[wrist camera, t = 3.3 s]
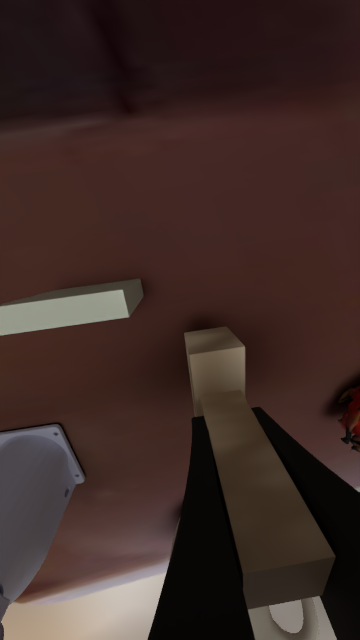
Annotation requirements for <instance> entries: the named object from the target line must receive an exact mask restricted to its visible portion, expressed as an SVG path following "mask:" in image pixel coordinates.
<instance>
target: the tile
mask: <svg viewBox="0 0 360 640" xmlns="http://www.w3.org/2000/svg"><path fill="white" fill-rule="evenodd" d="M143 296H144V295H143V290H142V285H141V280H140V279H134V280H126V281H119V282H112V283H105V284H97V285H90V286H83V287H75V288H68V289H61V290H55V291H51V292H47V293H43V294H39V295H35V296H32V297H28V298H24V299H20V300H16V301H12V302H8V303H4V304H0V335H6V334H13V333H20V332H28V331H35V330H42V329H49V328H56V327H63V326H70V325H77V324H84V323H91V322H98V321H105V320H112V319H119V318H126V317H130V315H131V314H132V312H133V311H134V309H135V308H136V306H137V305H138V304H139V302H140V301H141V299H142V298H143Z"/></svg>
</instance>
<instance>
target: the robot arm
mask: <svg viewBox="0 0 360 640" xmlns="http://www.w3.org/2000/svg"><path fill="white" fill-rule="evenodd" d="M251 409H252V411H253V413H254V415H255V416H256V418H257V420H258V422H259V424H260V425H261V427H262V429H263V430H264V432H265V434H266V436H267V437H268V439H269V441H270V443H271V444H272V446H273V448H274V450H275V451H276V453H277V455H278V457H279V458H280V460H281V462H282V464H283V465H284V467H285V469H286V471H287V472H288V474H289V476H290V478H291V479H292V481H293V483H294V485H295V486H296V488H297V490H298V492H299V493H300V495H301V497H302V499H303V500H304V502H305V504H306V505H307V507H308V509H309V511H310V512H311V514H312V516H313V518H314V519H315V521H316V523H317V525H318V526H319V528H320V530H321V532H322V533H323V535H324V537H325V539H326V540H327V542H328V544H329V546H330V547H331V549H332V551H333V553H334V554H335V556H336V557H335V560H334V563H333V566H332V569H331V572H330V574H329V577H328V580H327V583H326V586H325V589H324V591H323V594H322V595H321V596H320V598H321V600H322V603H323V605H324V608H325V610H326V613H327V615H328V618H329V620H330V623H331V625H332V628H333V630H334V633H335V636H336V638H337V640H360V492H358V491H357V490H356V489H354V488H353V487H352V486H350V485H349V484H348V483H347V482H345V481H344V480H343V479H341V478H340V477H339V476H337V475H336V474H335V473H334V472H332V471H331V470H330V469H329V468H327V467H326V466H325V465H324V464H323V463H321V462H320V461H319V460H318V459H316V458H315V457H314V456H313V455H312V454H311V453H309V452H308V451H307V450H306V449H305V448H304V447H302V446H301V445H300V444H299V443H298V442H297V441H296V440H295V439H293V438H292V437H291V436H290V435H289V434H288V433H287V432H286V431H285V430H283V429H282V428H281V427H280V426H279V425H278V424H277V423H276V422H275V421H274V420H273V419H272V418H271V417H270V416H269V415H268V414H267V413H266V412H265V411H264V410H263V409H262V408H260V407H255V408H251ZM84 480H85V476H84V474H83V472H82V470H81V468H80V465H79V463H78V461H77V459H76V457H75V455H74V453H73V451H72V449H71V447H70V445H69V443H68V441H67V439H66V437H65V435H64V432H63V430H62V428H61V426H60V425H58V424H53V425H47V426H40V427H34V428H27V429H21V430H14V431H8V432H1V433H0V640H3V637H4V628H3V625H2V623H1V620H2V618H3V616H4V614H5V611H6V609H7V607H8V606H9V605H10V604H11V603H12V602H13V601H15V600H16V599H17V598H18V597H19V596H20V594H21V593H22V592H23V591H24V590H25V589H26V587H27V586H28V585H29V583H30V582H31V581H32V579H33V578H34V577H35V575H36V573H37V572H38V570H39V569H40V567H41V565H42V563H43V562H44V560H45V558H46V556H47V553H48V551H49V549H50V546H51V544H52V541H53V539H54V536H55V534H56V532H57V529H58V527H59V524H60V522H61V519H62V517H63V515H64V512H65V510H66V507H67V505H68V503H69V500H70V498H71V495H72V493H73V490H74V488H75V486H76V484H80V483H83V482H84ZM148 640H255V636H254V632H253V628H252V624H251V620H250V616H249V612H248V608H247V605H246V601H245V597H244V593H243V589H242V585H241V581H240V577H239V573H238V569H237V565H236V561H235V557H234V553H233V548H232V544H231V540H230V536H229V532H228V528H227V524H226V520H225V516H224V512H223V507H222V503H221V499H220V495H219V491H218V486H217V480H216V475H215V468H214V462H213V455H212V449H211V443H210V436H209V430H208V428H207V425H206V421H205V418H204V416H198V417H193V418H192V447H191V456H190V465H189V472H188V478H187V485H186V491H185V496H184V501H183V506H182V511H181V516H180V520H179V525H178V529H177V533H176V538H175V542H174V546H173V550H172V554H171V558H170V562H169V566H168V570H167V573H166V577H165V580H164V584H163V588H162V591H161V595H160V598H159V602H158V606H157V609H156V613H155V616H154V620H153V623H152V627H151V630H150V633H149V637H148Z"/></svg>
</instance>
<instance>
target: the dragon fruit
mask: <svg viewBox="0 0 360 640" xmlns="http://www.w3.org/2000/svg"><path fill="white" fill-rule="evenodd" d="M350 398H352V399H353V401H352V402H350V404H349V405H348V411H347V412H345V414H344V415H343V417H342V419H340V420H338V422H339V423H340V425H341V426H342V428H343V429H344V430H346V437H345V438H341V440H342V441H343V442H344V443H346V444H348V443H349V442H351V443H352V444H353V446H352V447H351V448H352V449H354V450H356V451H358V452H360V386H358V387H356V388H349V389H348V390H347V391H346V392H345V393H343V395H342V396H341V398H340V399H339V401H338V402H337V403H341V402H344V401H347V400H349V399H350ZM351 433H352V434H354V433H355V435H353V436H352V438H351Z"/></svg>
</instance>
